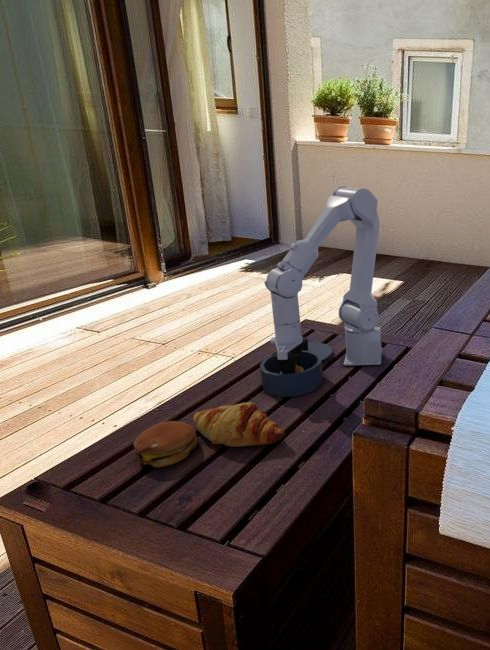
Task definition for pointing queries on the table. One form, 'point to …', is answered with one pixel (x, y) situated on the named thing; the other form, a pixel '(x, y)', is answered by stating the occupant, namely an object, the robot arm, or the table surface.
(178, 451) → the burger
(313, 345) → the lid
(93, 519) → the table surface
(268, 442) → the croissant
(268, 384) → the pot
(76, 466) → the table surface
